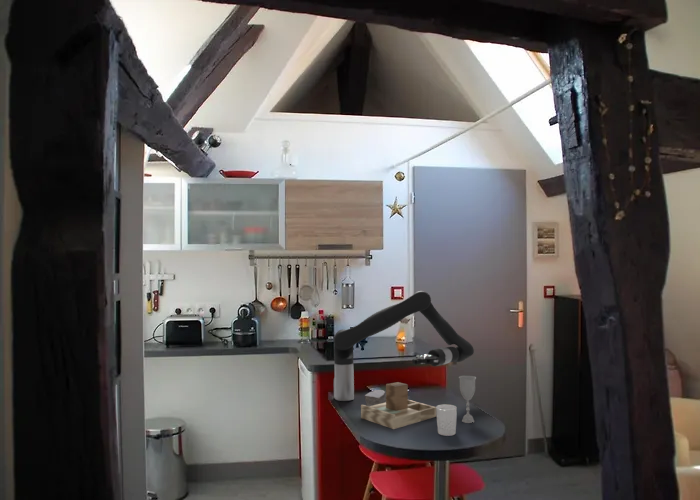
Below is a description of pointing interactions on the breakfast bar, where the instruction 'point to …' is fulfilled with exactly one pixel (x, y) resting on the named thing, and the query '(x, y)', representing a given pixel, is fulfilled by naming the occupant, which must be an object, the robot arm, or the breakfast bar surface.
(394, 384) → the walnut block
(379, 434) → the breakfast bar surface
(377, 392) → the decorative stone
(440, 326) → the robot arm
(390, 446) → the breakfast bar surface
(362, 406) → the box
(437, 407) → the white cup
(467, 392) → the chalice
